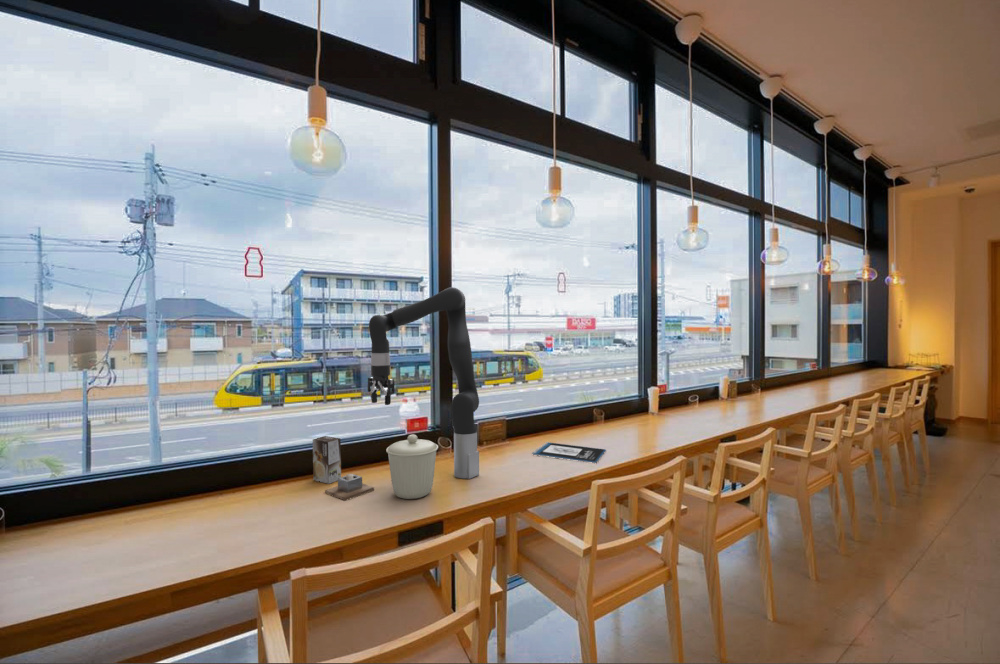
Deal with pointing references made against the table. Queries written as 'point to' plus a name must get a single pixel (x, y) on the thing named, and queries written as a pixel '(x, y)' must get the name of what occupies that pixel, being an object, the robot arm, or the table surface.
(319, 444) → the coffee box
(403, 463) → the canister
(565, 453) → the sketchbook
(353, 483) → the collar
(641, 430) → the table surface
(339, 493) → the post stand
